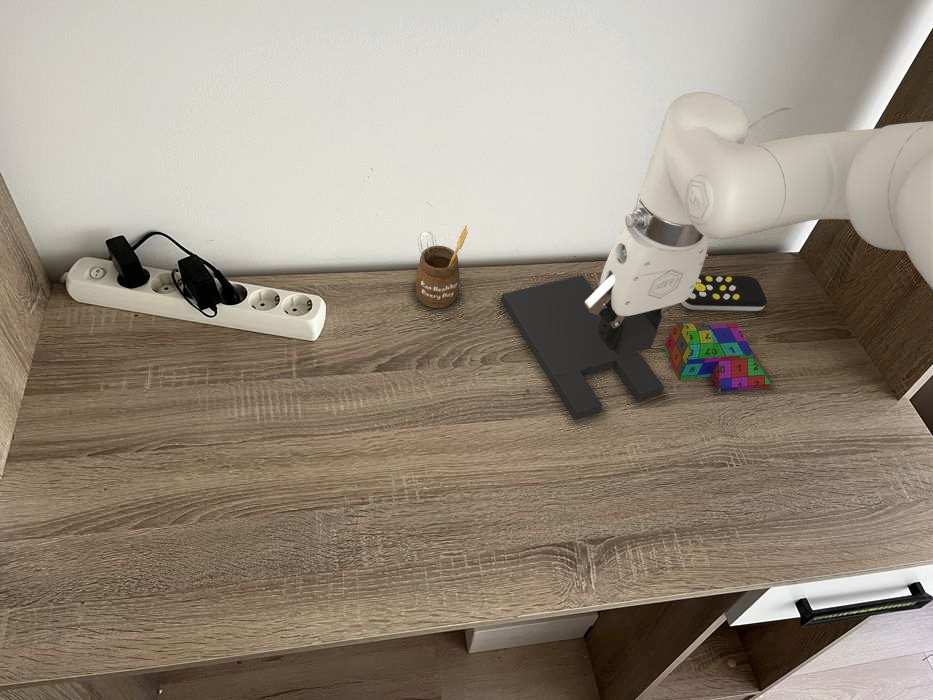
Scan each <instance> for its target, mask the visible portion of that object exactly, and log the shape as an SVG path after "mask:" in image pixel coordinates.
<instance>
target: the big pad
mask: <svg viewBox="0 0 933 700" xmlns="http://www.w3.org/2000/svg"><path fill="white" fill-rule="evenodd" d="M594 291H595V290H594V289H593V287H592V285H591V284H590V283H589V282H588V280H587V279H586V277H585V276H584V275H583V274H582V275H577V276H573V277H568V278H565V279H561V280H556V281H551V282H547V283H543V284H538V285H534V286H530V287H526V288H521V289H516V290H513V291H508V292H504V293H502V294H501V298H500V299H501V300H500V301H501V303H502V305H503V306H504V308H505V310H506V312H507V313H508V315H509V316H510V318H511V319H512V321H513V323H514V325H515V326H516V328H517V329H518V331H519V333H520V334H521V336H522V338H523V339H524V341H525V342H526V344H527V346H528V348H529V349H530V351H531V352H532V354H533V355H534V357H535V359H536V361H537V362H538V364H539V365H540V367H541V368H542V370H543V372H544V374H545V375H546V377H547V378H548V380H549V382H550V383H551V385H552V387H553V388H554V390H555V393H556V394H557V395H558V397H559V398H560V400H561V402H562V403H563V405H564V407H565V408H566V410H567V411H568V413H569V415H570V416H571V418H572V419H573V421H576V420H580V419H583V418H587V417H590V416H593V415H596V414H600V412H601V410H602V408H603V404H602V403H601V401H600V399H599V398H598V396H597V395H596V393H595V391H594V390H593V389H592V387H591V386H590V384H589V383H588V381H587V379H586V378H585V376H587V375H592V374H595V373H598V372H601V371H605V370H609V369H612V368H613V369H614V370H615V371H616V374H617V375H618V376H619V377H620V379H621V381H622V382H623V384H624V385H625V386H626V388H627V389H628V391H629V392H630V394H631V395H632V397H633V398H634V399H635V400H636V402H640V401H643V400H646V399H649V398H653V397H656V396H659V395H662V393H663V391H664V388H665V386H664V385H663V383H662V382H661V380H660V379H659V378H658V376H657V374H656V373H655V372H654V370H653V369H652V368H651V367H650V365H649V364H648V363H647V361H646V360H645V358H644V357H643V356H642V354H641V353H640V352H636V353H633V354H629V355H625V356H622V357H618V356H617V354H616V353H615V351H614V350H609V348H608V347H607V345H606V344H605V342H603V341H602V340H601V339H600V337H599V334H598V330H599V328H598V326H599V323H600V320H601V316H599V315H595V314H593V313H591V312H589V310H588V309H587V308H586V306H585V305H584V302H585V301H586V300H587V299H588V298H589V297H590V296H591V295H592V293H593V292H594Z"/></svg>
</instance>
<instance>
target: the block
mask: <svg viewBox="0 0 933 700" xmlns="http://www.w3.org/2000/svg"><path fill="white" fill-rule="evenodd" d="M663 349H664V352H665V354H666V356H667V359H668V360H669V362H670V365H671V367H672V369H673V370H674V373H675V374H676V377H677V379H678V380H687V379H698V378H711V380H712V382H713V385H714V386H715V389H716V390H717V392H718V393H719V392H730V391H731V392H732V391H740V390H749V389H750V390H751V389H762V388H770V386H771V385H772V383H771V381H770V380H769V378H768V376H767V375H766V372H765V371H764V369H763V367H762V365H761V364H760V362H759V360H758V358H757V357H756V355H755V353H754V352H753V350H752V348H751V346H750V344H749V343H748V341H747V340H746V338H745V336H744V334H743V332H742V331H741V328H740V327H739V326H738V324H737V323H735V322H734V323H724V324H723V323H721V324H712V325H710V324H709V325H708V324H707V323H706V322H705V321H704V320H695V321H694V320H693V321H681V322H676V323H675V324H674V325H673V327H672V329H671V331H670V333H669V335H668V338H667V340H666V343H665V345H664V346H663Z"/></svg>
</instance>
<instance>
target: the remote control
mask: <svg viewBox="0 0 933 700" xmlns="http://www.w3.org/2000/svg"><path fill="white" fill-rule="evenodd" d="M767 301H768V300H767V296H766V294H765V292H764V290H763V287H762V286H761V283H760V282H759V280H758V279H756V278H755V277H753V276H748V275H717V274H716V275H715V274H713V275H711V274H700V275H699V277H698V280H697V284H696V285H695V287H694V289H693V292H692V293H691V295H690V297H689V298H688V299H686V300H685V301H683V302H681V303H680V304H681V305H682V306H683V307H684V308H685V309H687V310H691V311H729V312H730V311H731V312H733V311H734V312H735V311H737V312H740V311H741V312H759V311H762V310H763V309H764V308H765V307H766V305H767Z"/></svg>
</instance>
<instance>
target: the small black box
mask: <svg viewBox="0 0 933 700" xmlns="http://www.w3.org/2000/svg"><path fill="white" fill-rule="evenodd" d="M601 321H602V318H601V320H600V323H599V326H598V328H599V327H600V324H601ZM621 324H622V325H623V331H622V334H621V335H620V338H619V341H618V343H617V346H616V348H615V349H614V351H615V353H616V354H617V356H618V357H622V356H625V355H629V354H633V353H636V352H639V353H640V352H643V351H648V350H651V349H652V346H653V345H654V342H655V339H656V337H657V335H658V334H659V333H658V332H659V331H658V329H657V330H656V329H655V327H654V326H653V325H652V324H651V322H650V321H649V320H648V318H647V317H646V316H645V314H644V313H640V314H635V315H631V316H625V318H624V320H623V321H622V323H621Z"/></svg>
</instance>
